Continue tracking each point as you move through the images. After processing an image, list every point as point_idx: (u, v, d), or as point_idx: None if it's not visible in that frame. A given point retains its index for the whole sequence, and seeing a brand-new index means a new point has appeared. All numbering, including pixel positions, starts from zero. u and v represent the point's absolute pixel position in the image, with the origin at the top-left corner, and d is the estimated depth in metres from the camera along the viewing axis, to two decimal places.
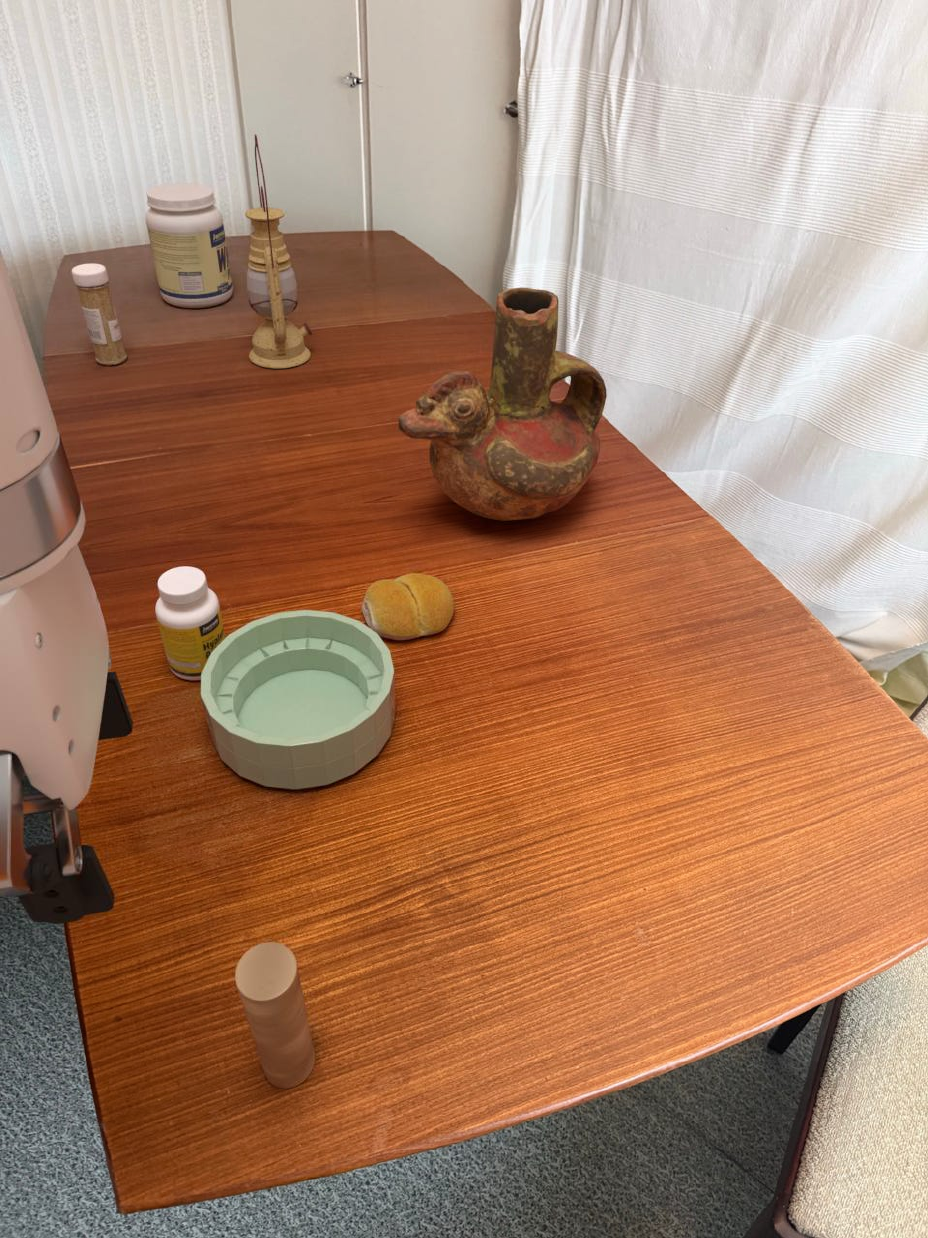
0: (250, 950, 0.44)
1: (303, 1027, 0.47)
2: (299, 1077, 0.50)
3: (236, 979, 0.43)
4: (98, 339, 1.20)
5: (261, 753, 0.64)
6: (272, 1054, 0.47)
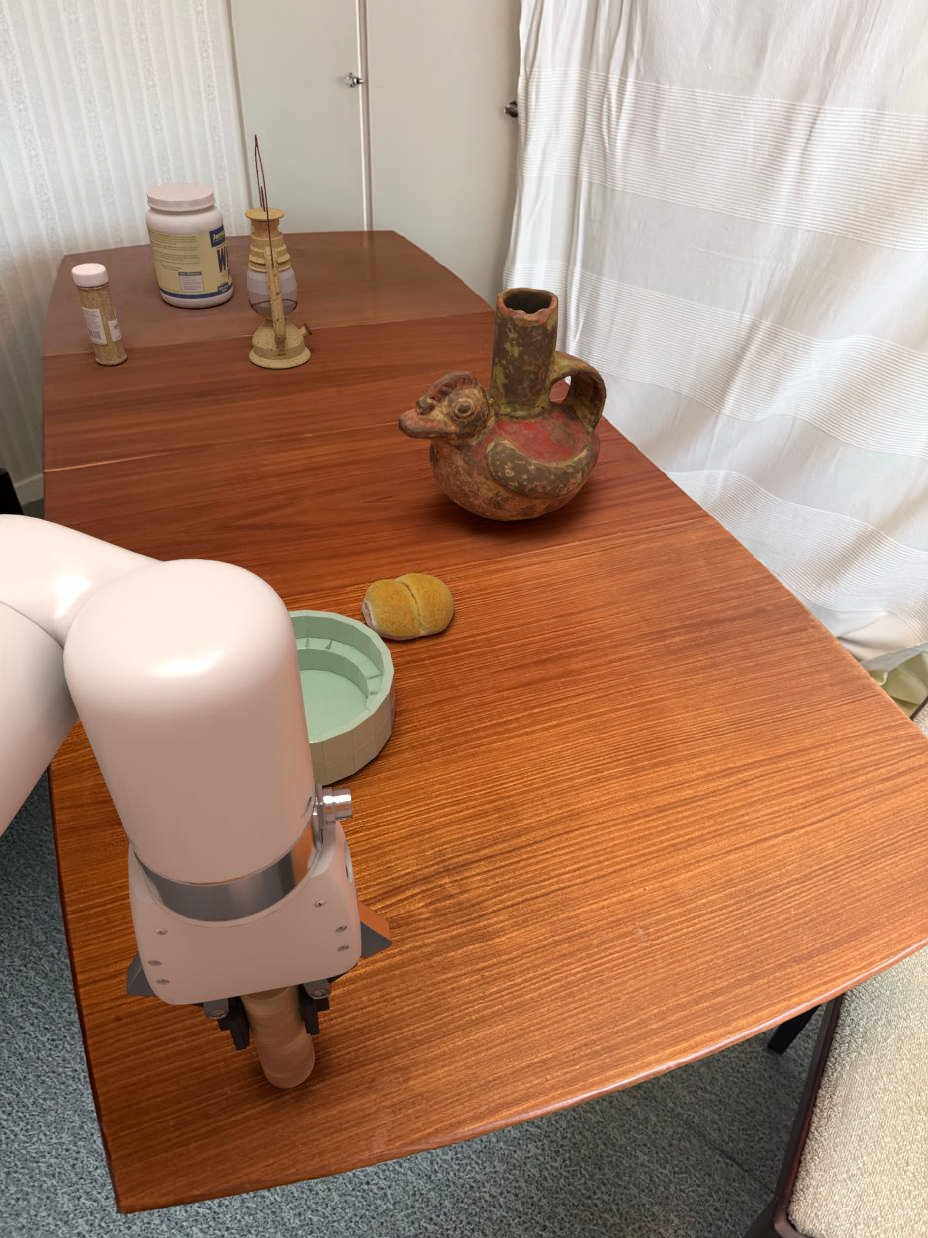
0: None
1: (303, 1027, 0.47)
2: (299, 1077, 0.50)
3: None
4: (98, 339, 1.20)
5: None
6: (272, 1054, 0.47)
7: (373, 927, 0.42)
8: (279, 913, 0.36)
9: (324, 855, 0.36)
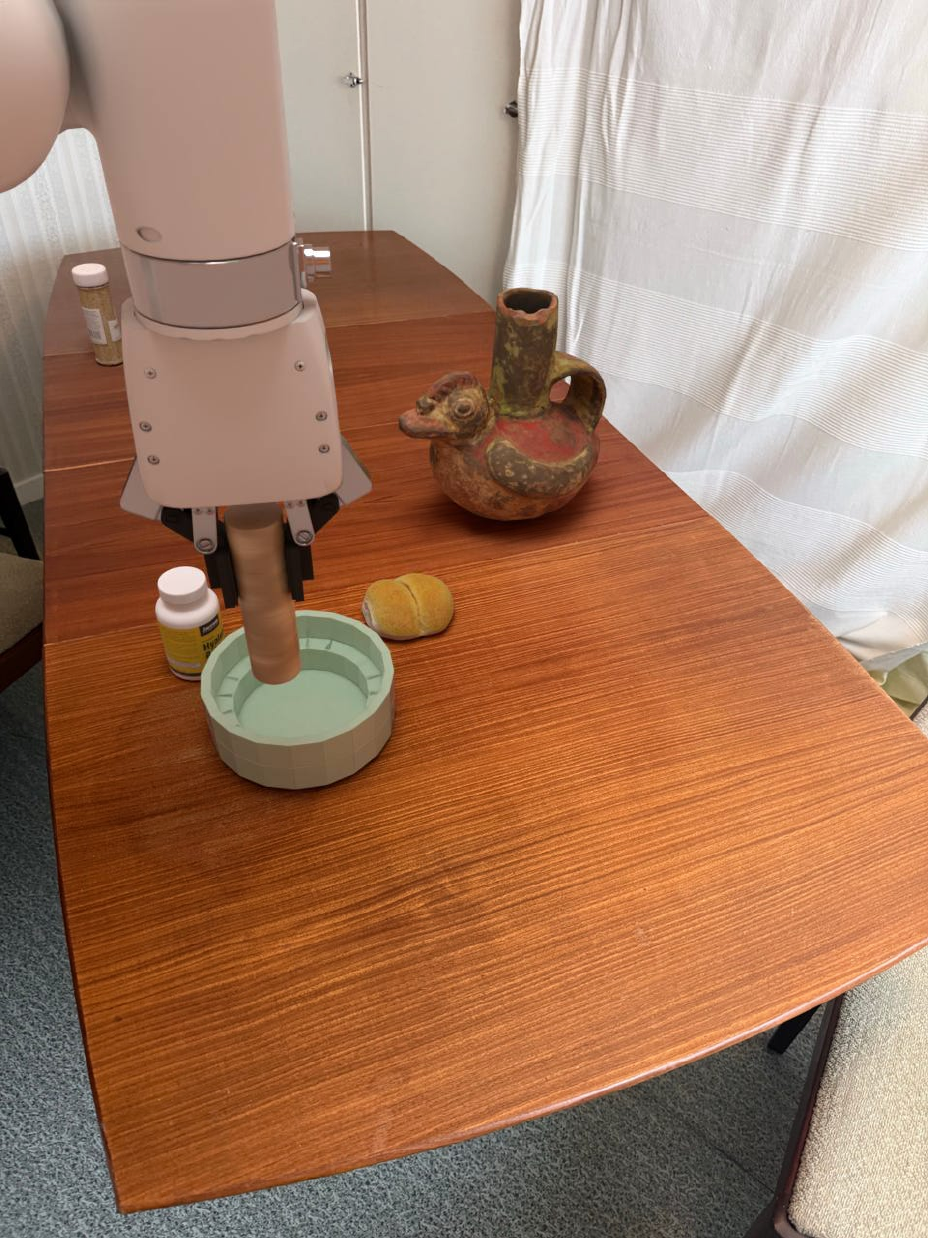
0: None
1: (289, 600, 0.49)
2: (286, 671, 0.52)
3: (224, 517, 0.46)
4: (98, 339, 1.20)
5: (261, 753, 0.64)
6: (259, 623, 0.49)
7: (354, 458, 0.44)
8: (261, 365, 0.38)
9: (304, 314, 0.38)
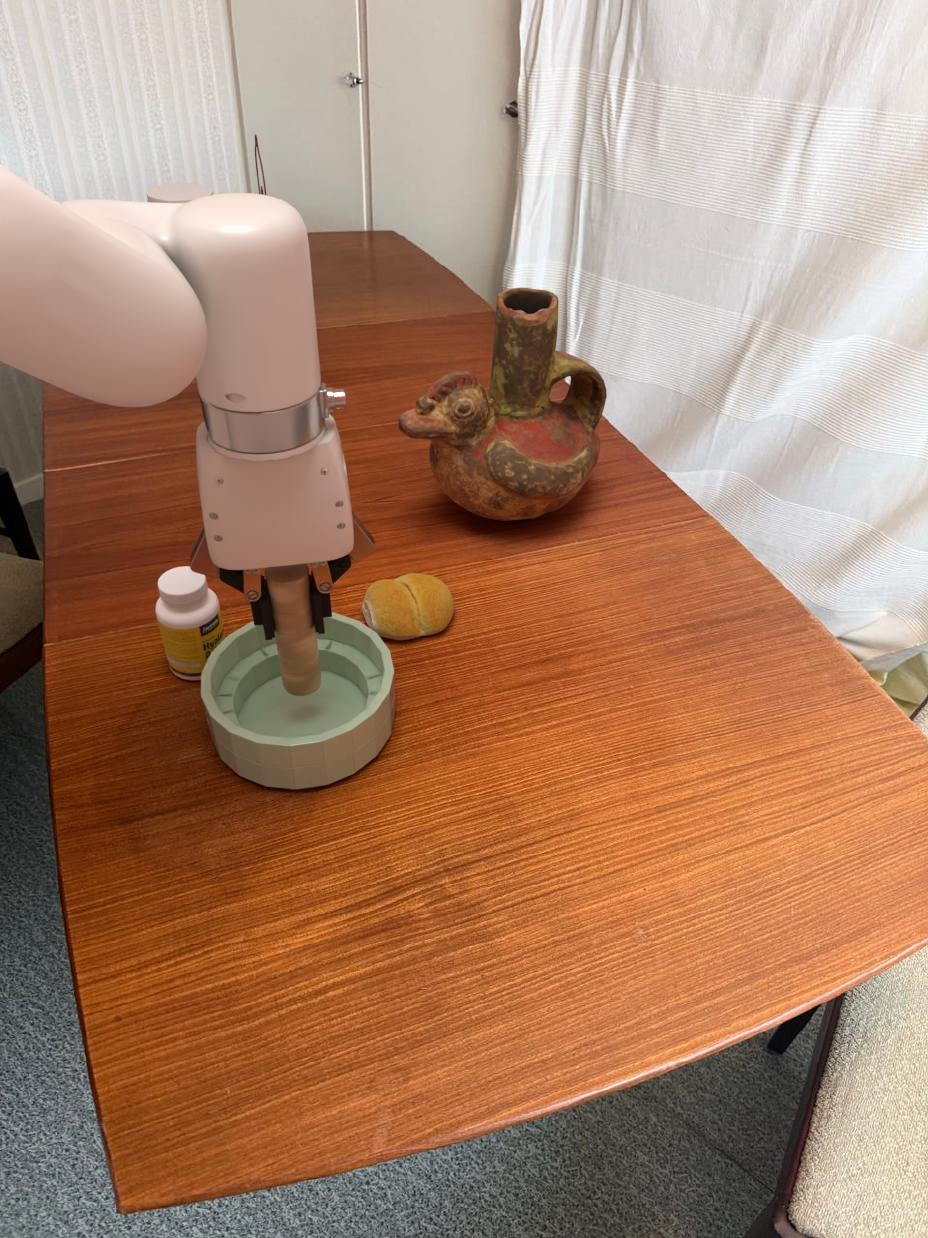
0: None
1: (313, 632, 0.65)
2: (310, 685, 0.68)
3: (265, 573, 0.61)
4: None
5: (261, 753, 0.64)
6: (291, 650, 0.65)
7: (362, 529, 0.60)
8: (297, 473, 0.54)
9: (327, 435, 0.54)
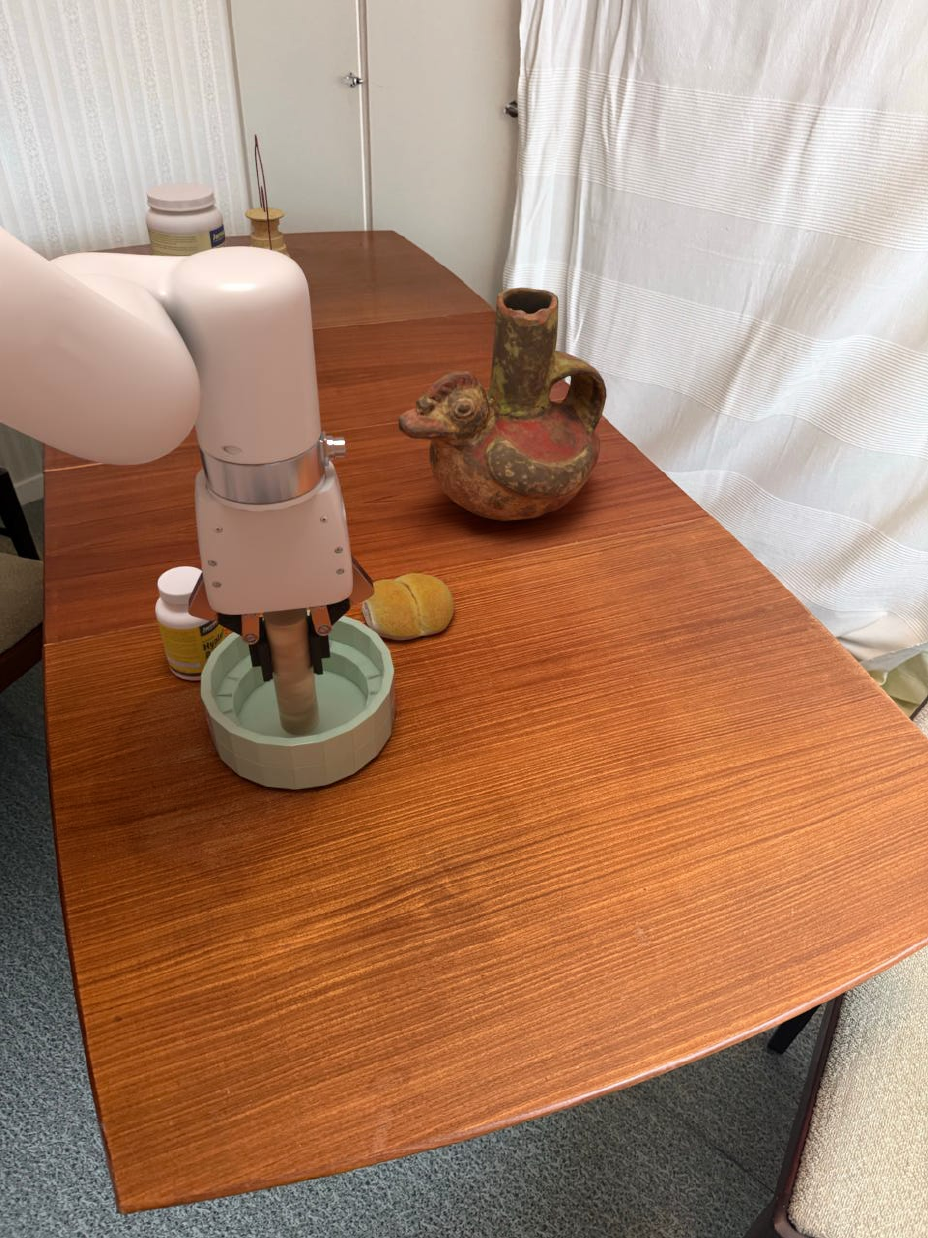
0: None
1: (311, 673, 0.65)
2: (308, 725, 0.68)
3: (264, 616, 0.61)
4: None
5: (261, 753, 0.64)
6: (289, 691, 0.65)
7: (361, 573, 0.60)
8: (297, 521, 0.53)
9: (327, 483, 0.54)
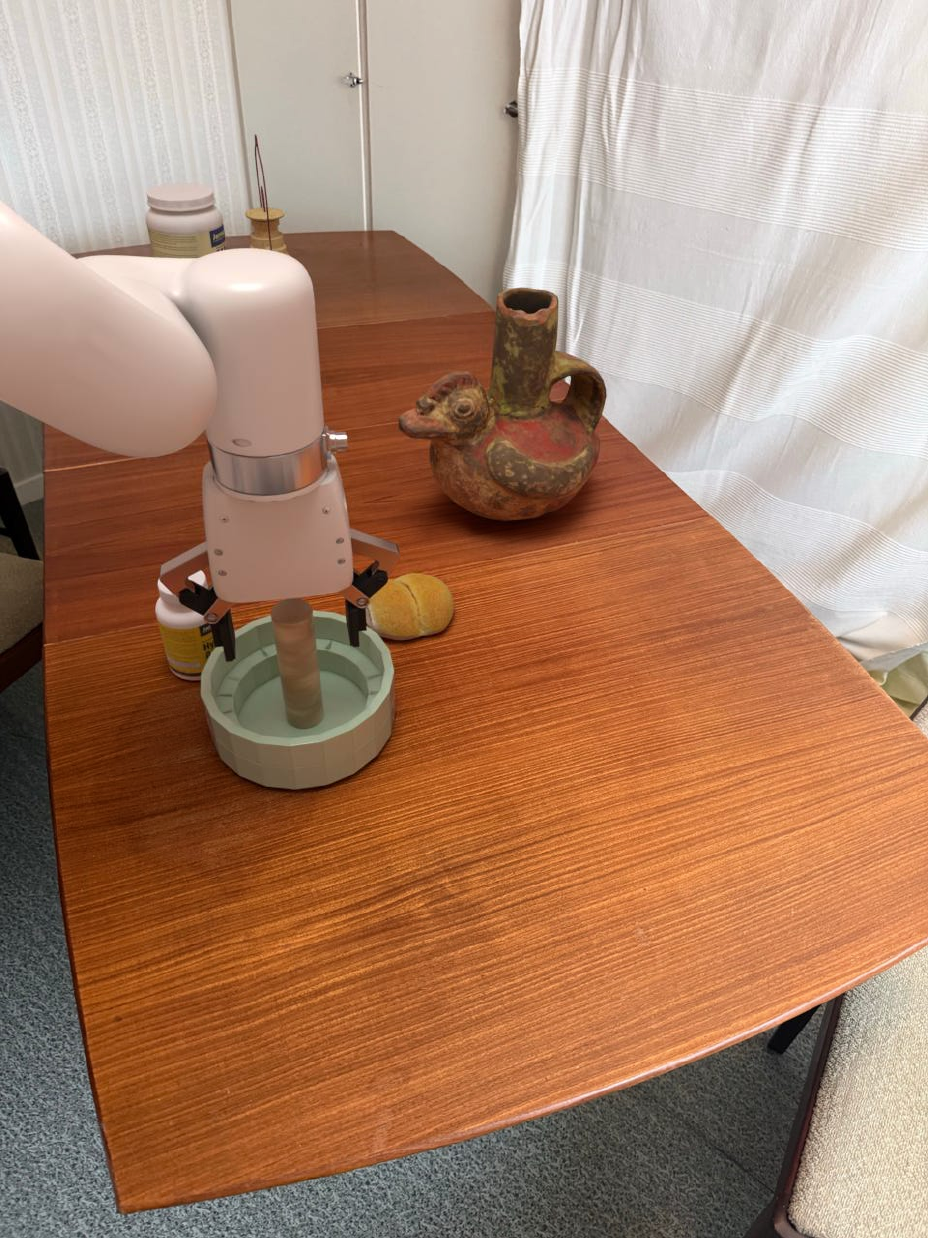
0: (280, 601, 0.65)
1: (316, 669, 0.68)
2: (313, 719, 0.70)
3: (271, 614, 0.64)
4: None
5: (261, 753, 0.64)
6: (295, 687, 0.67)
7: (376, 544, 0.61)
8: (300, 512, 0.56)
9: (329, 476, 0.56)
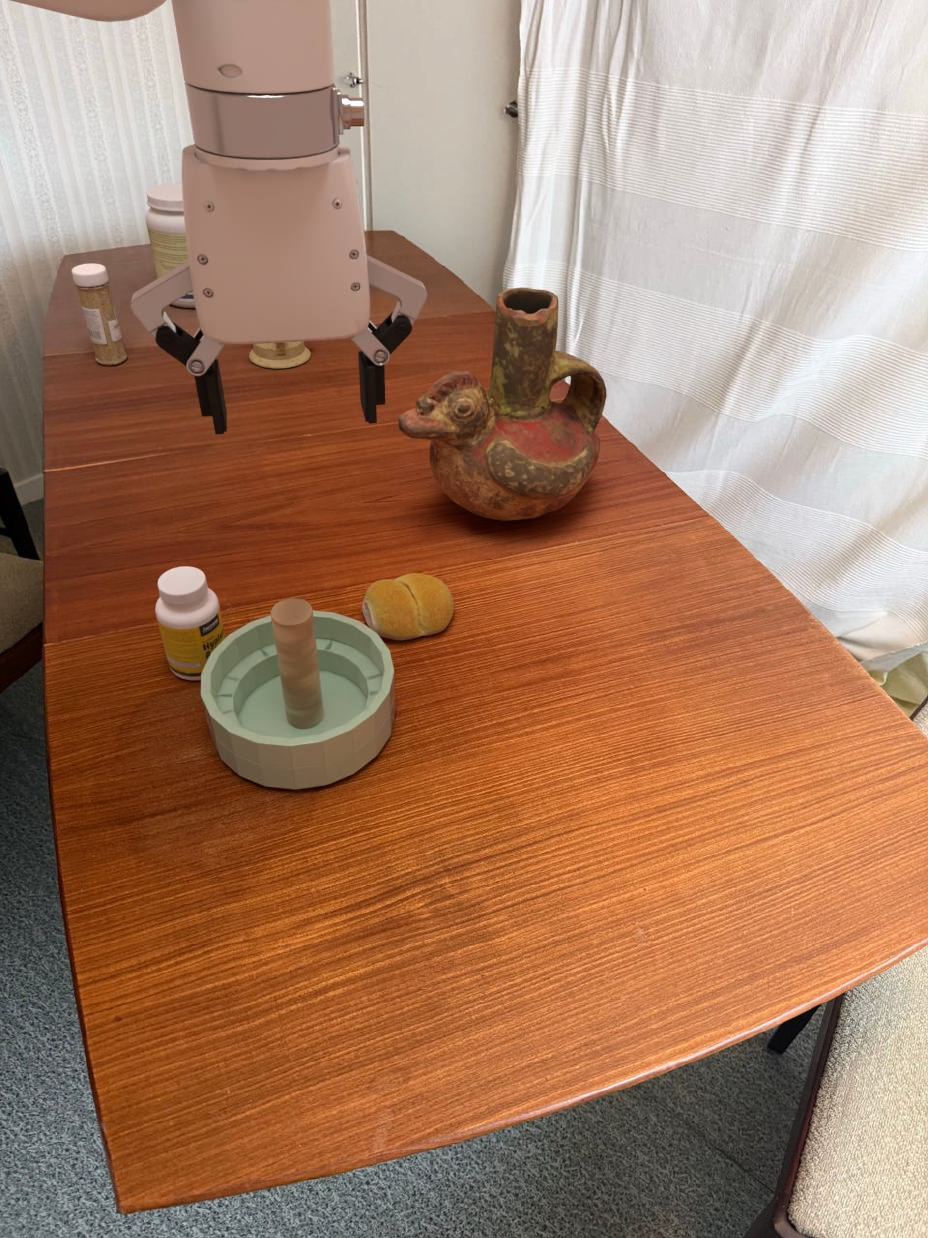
0: (280, 601, 0.65)
1: (316, 669, 0.68)
2: (313, 719, 0.70)
3: (271, 614, 0.64)
4: (98, 339, 1.20)
5: (261, 753, 0.64)
6: (295, 687, 0.67)
7: (398, 274, 0.50)
8: (304, 201, 0.44)
9: (341, 157, 0.44)
